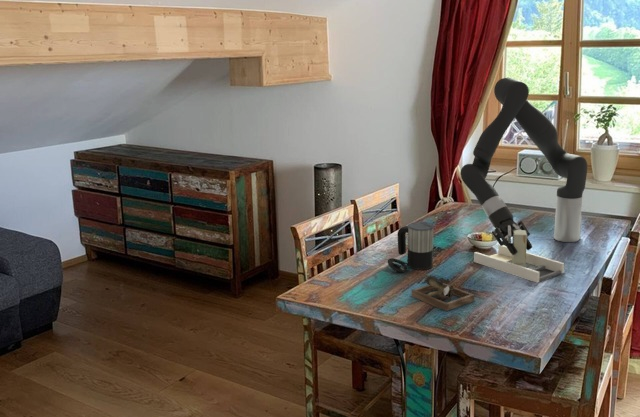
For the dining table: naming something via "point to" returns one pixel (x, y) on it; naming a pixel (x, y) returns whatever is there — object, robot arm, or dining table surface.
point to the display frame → (421, 295)
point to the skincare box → (520, 247)
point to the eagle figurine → (439, 288)
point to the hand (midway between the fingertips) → (522, 251)
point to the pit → (546, 273)
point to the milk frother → (415, 247)
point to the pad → (502, 257)
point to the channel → (517, 269)
